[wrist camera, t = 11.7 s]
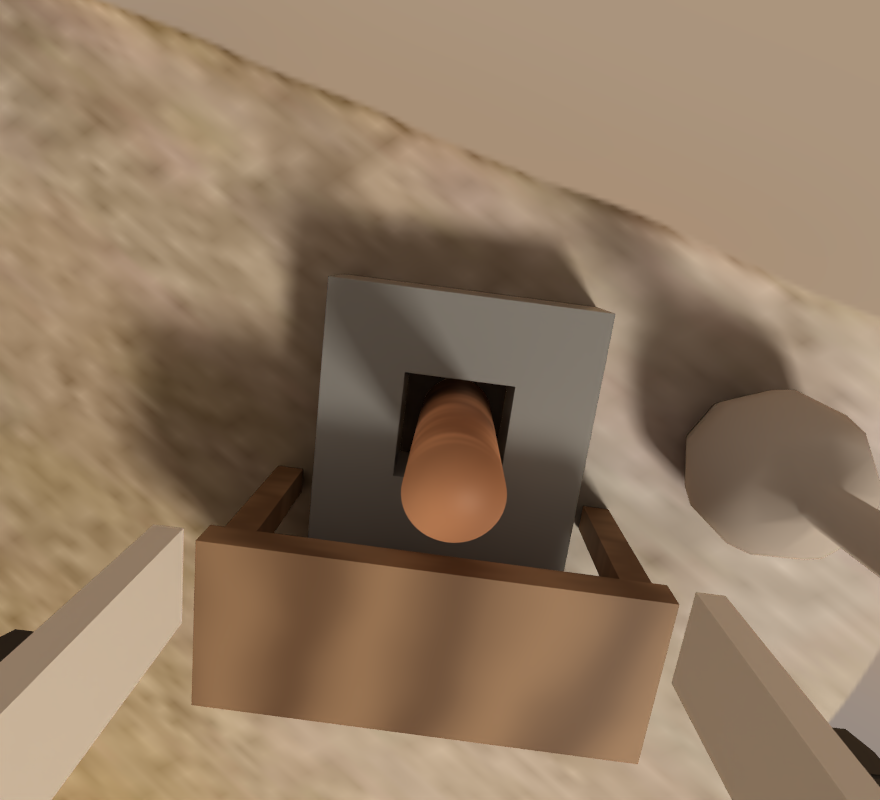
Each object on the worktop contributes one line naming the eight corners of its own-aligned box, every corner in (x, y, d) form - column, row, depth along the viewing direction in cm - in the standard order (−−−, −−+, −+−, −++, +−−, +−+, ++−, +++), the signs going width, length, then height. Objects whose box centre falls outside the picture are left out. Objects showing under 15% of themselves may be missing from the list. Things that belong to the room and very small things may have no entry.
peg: (417, 439, 34) (395, 535, 22) (425, 373, 33) (407, 437, 21) (484, 448, 34) (498, 549, 22) (495, 382, 33) (514, 451, 21)
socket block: (324, 506, 35) (308, 537, 31) (344, 273, 32) (328, 276, 28) (552, 536, 35) (563, 571, 31) (596, 307, 32) (615, 313, 28)
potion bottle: (801, 526, 34) (1156, 805, 17) (653, 511, 34) (853, 772, 17) (840, 384, 32) (1292, 534, 15) (682, 368, 32) (945, 498, 15)
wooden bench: (263, 585, 36) (191, 704, 27) (270, 460, 34) (195, 540, 25) (590, 629, 36) (637, 763, 27) (617, 506, 34) (679, 604, 25)
